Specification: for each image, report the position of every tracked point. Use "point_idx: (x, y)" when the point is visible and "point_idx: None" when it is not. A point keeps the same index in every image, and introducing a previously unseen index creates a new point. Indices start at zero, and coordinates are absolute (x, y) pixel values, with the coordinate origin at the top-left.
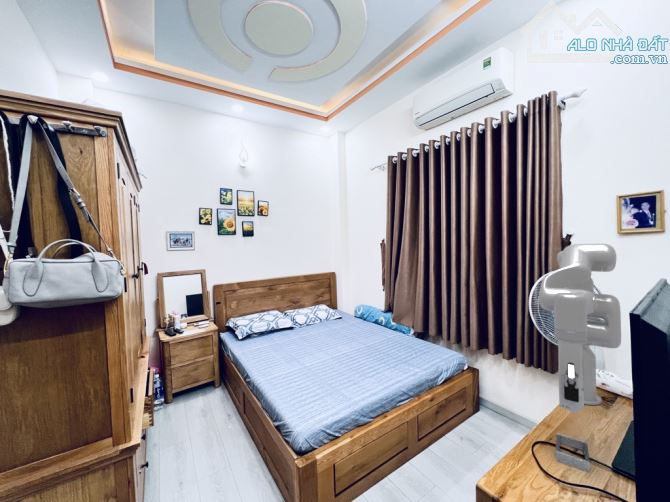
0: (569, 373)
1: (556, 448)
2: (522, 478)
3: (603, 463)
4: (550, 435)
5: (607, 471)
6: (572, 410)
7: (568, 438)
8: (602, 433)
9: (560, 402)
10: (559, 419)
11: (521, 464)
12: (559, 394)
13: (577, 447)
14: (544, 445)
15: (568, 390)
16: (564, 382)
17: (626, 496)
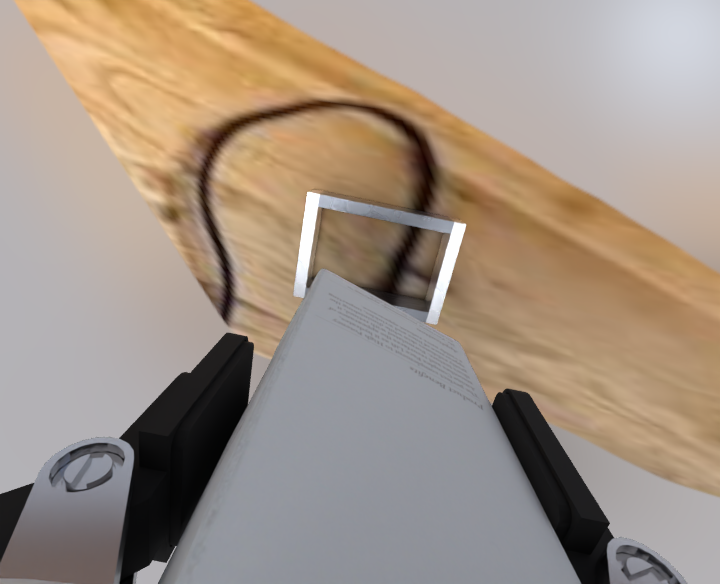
0: None
1: (335, 200)
2: (131, 39)
3: None
4: (492, 202)
5: None
6: (281, 339)
7: (441, 264)
8: (571, 389)
9: (312, 285)
10: (647, 266)
11: (216, 43)
12: (302, 307)
13: (429, 283)
14: (401, 163)
15: (135, 429)
16: (218, 465)
17: None
